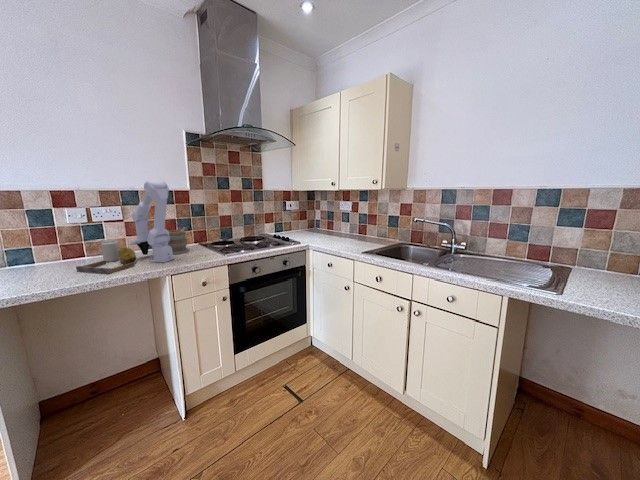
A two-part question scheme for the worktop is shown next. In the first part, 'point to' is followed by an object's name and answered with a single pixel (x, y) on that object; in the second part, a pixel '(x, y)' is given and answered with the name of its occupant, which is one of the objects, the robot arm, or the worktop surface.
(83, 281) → the worktop surface
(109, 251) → the can
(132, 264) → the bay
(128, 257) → the olive green oval lump
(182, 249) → the tankard
